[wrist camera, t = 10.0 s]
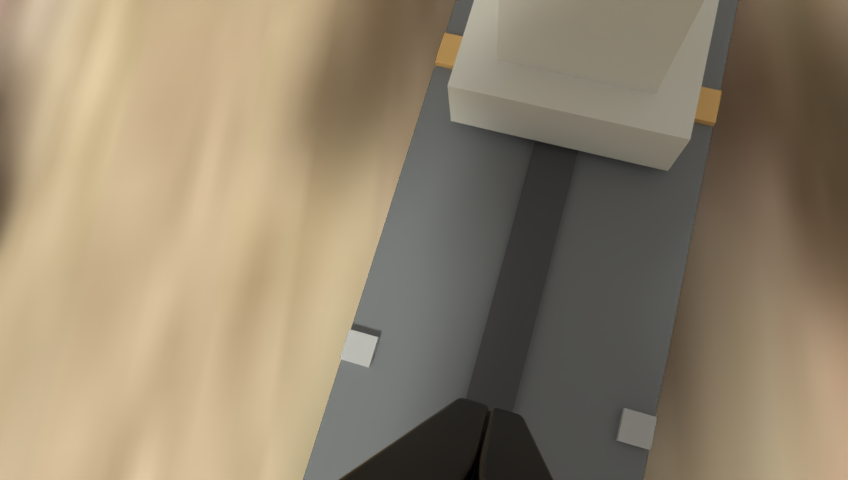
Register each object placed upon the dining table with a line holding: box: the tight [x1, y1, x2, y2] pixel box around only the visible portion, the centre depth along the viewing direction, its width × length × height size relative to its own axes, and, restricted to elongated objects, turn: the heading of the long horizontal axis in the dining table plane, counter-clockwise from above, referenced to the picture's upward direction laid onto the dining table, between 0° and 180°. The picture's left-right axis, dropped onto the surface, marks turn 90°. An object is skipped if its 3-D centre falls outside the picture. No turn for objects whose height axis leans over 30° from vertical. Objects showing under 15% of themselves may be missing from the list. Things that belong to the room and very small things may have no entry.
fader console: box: [303, 0, 738, 480], centre depth 19 cm, size 18×8×2 cm, turn 164°
